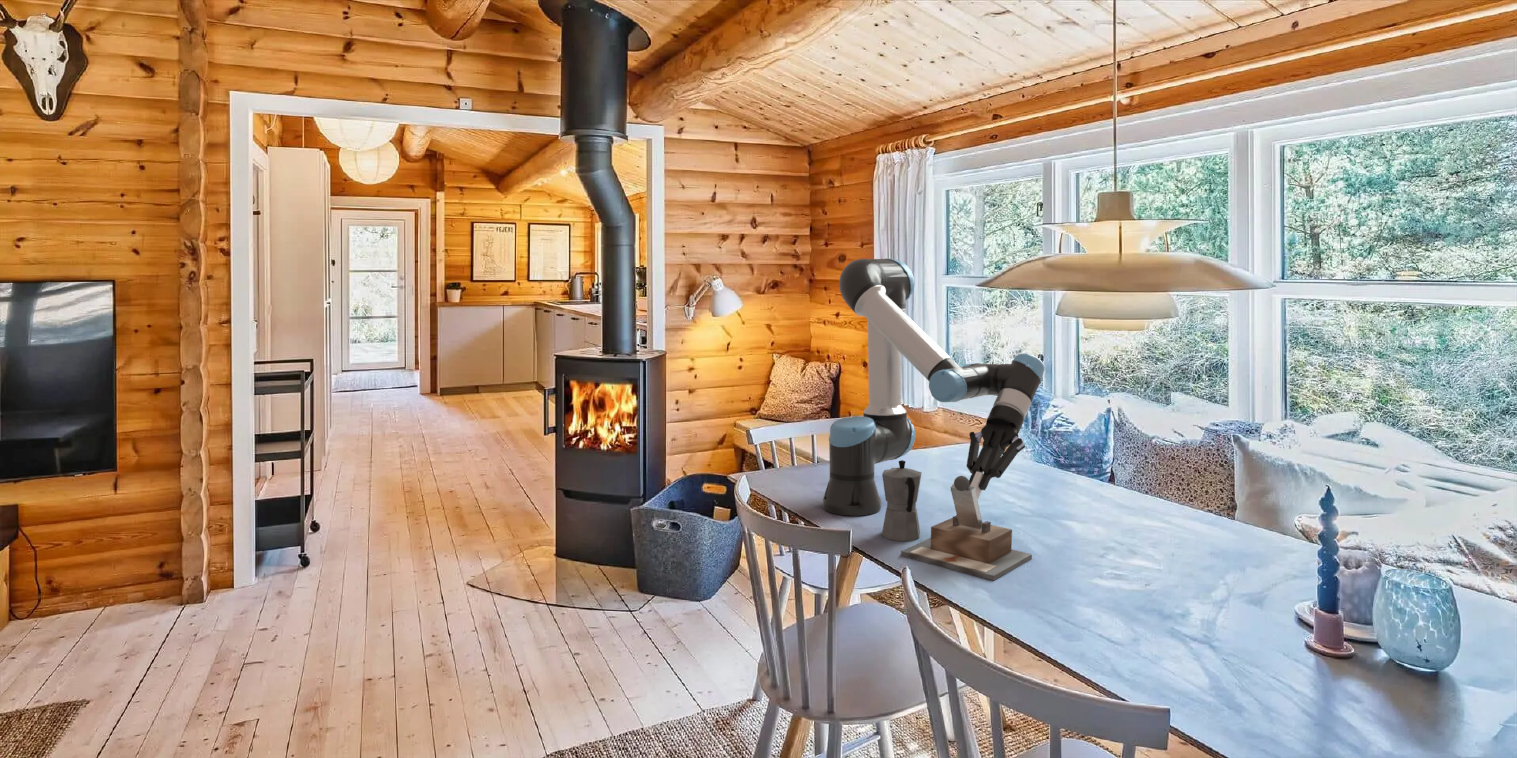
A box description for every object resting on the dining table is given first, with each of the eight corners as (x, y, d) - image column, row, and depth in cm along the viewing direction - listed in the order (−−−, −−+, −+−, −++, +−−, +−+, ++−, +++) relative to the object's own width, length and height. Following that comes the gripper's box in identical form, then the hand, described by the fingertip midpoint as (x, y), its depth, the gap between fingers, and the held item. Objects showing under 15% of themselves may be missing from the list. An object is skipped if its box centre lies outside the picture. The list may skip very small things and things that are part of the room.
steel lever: (957, 526, 181) (946, 479, 176) (964, 517, 183) (953, 471, 178) (977, 531, 177) (967, 483, 172) (984, 522, 179) (974, 474, 174)
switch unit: (901, 555, 181) (901, 520, 180) (942, 536, 193) (942, 503, 192) (993, 580, 166) (994, 542, 165) (1031, 558, 178) (1033, 522, 177)
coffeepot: (874, 527, 201) (875, 454, 198) (912, 525, 202) (913, 453, 199) (891, 548, 186) (892, 470, 183) (932, 546, 187) (933, 468, 184)
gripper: (1040, 426, 186) (1004, 515, 176) (987, 420, 195) (950, 504, 185) (1030, 406, 182) (992, 496, 172) (976, 400, 191) (937, 485, 181)
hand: (970, 500), depth 179 cm, fingers closed
